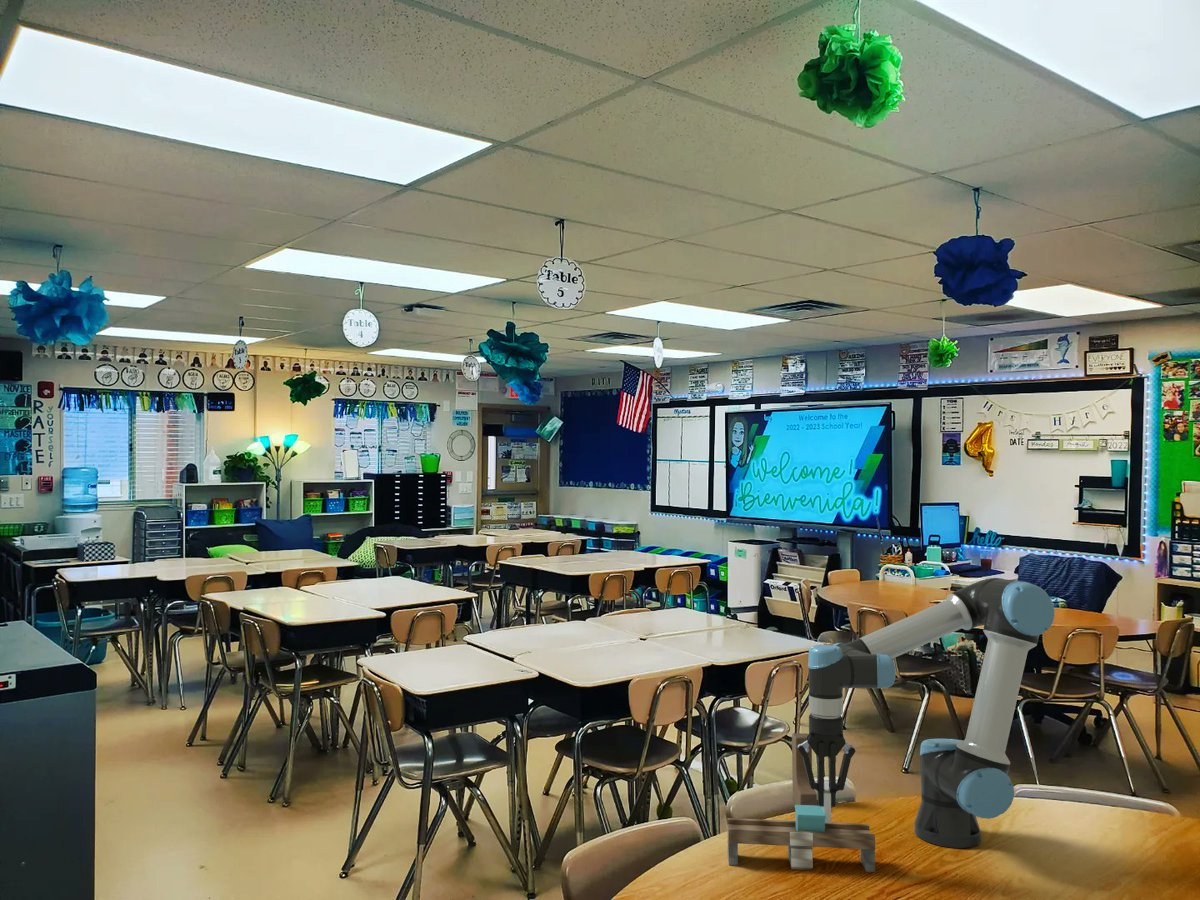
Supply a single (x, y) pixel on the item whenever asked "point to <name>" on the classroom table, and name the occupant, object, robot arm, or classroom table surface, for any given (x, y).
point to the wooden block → (801, 773)
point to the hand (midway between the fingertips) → (826, 820)
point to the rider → (810, 818)
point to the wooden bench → (801, 839)
